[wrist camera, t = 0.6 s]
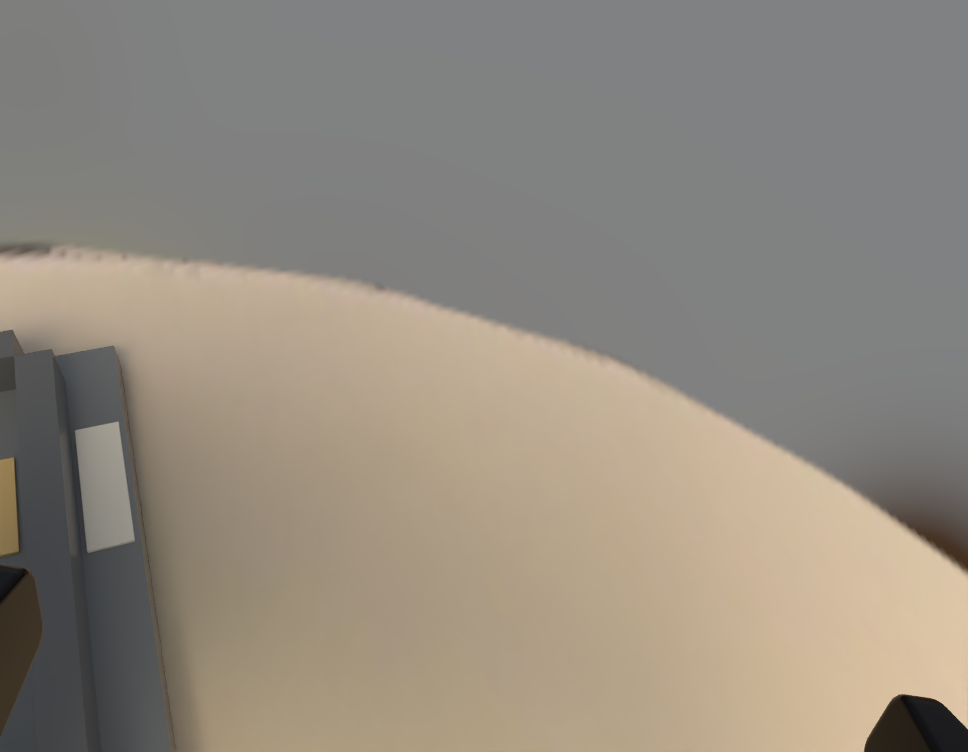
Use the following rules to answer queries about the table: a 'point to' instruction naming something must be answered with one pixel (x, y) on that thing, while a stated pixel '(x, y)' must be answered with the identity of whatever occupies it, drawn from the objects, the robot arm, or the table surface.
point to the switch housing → (79, 557)
